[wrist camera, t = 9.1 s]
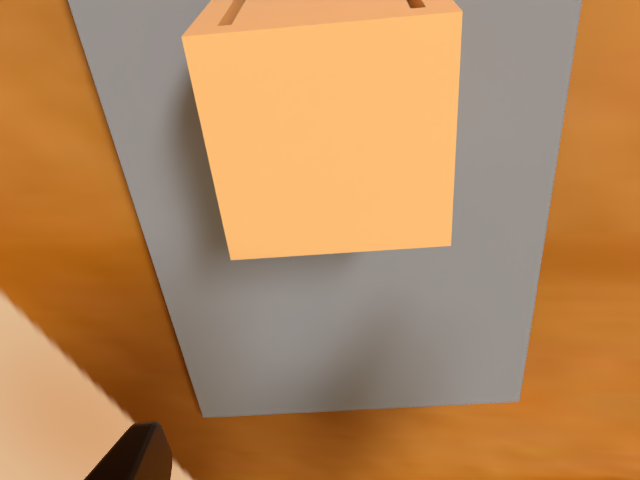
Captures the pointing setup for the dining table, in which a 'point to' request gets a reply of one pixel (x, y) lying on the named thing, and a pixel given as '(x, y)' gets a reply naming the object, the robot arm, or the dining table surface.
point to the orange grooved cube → (329, 122)
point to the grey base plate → (355, 267)
